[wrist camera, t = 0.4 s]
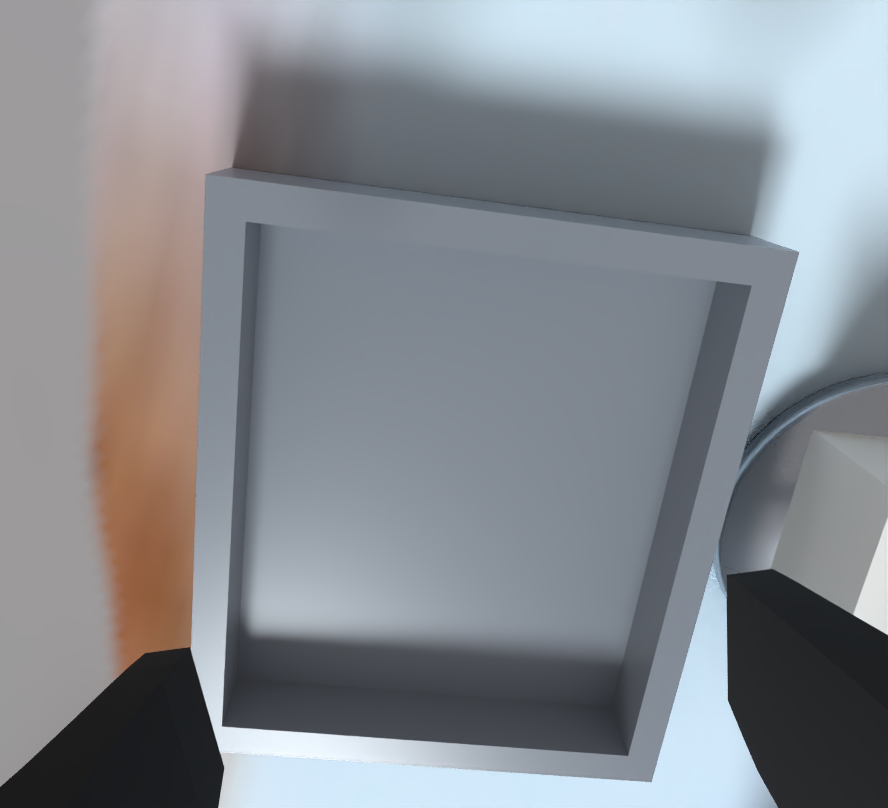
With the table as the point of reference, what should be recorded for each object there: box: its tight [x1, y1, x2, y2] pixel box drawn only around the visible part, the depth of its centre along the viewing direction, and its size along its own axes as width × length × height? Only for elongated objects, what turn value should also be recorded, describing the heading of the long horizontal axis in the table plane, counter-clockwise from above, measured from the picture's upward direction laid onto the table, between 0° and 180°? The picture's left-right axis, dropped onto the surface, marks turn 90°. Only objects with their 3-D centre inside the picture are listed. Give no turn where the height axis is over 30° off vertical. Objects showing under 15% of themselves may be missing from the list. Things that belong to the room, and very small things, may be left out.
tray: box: [191, 168, 799, 782], centre depth 19 cm, size 14×12×2 cm
